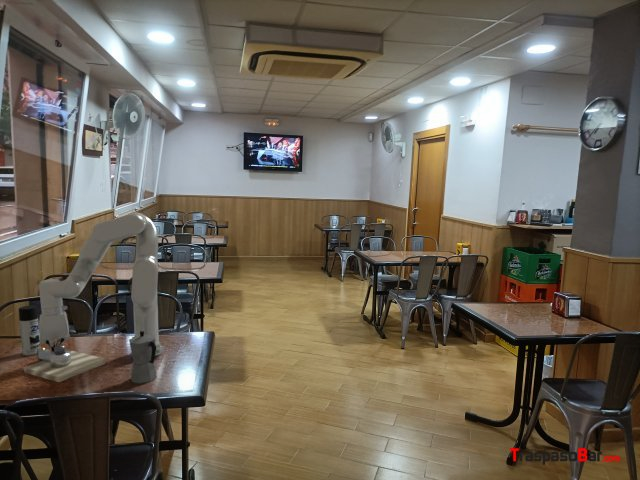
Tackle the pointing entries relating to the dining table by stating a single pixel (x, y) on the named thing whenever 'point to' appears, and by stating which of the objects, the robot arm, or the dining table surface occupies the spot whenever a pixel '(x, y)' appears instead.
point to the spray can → (29, 330)
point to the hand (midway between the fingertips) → (56, 354)
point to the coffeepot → (143, 358)
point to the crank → (56, 355)
